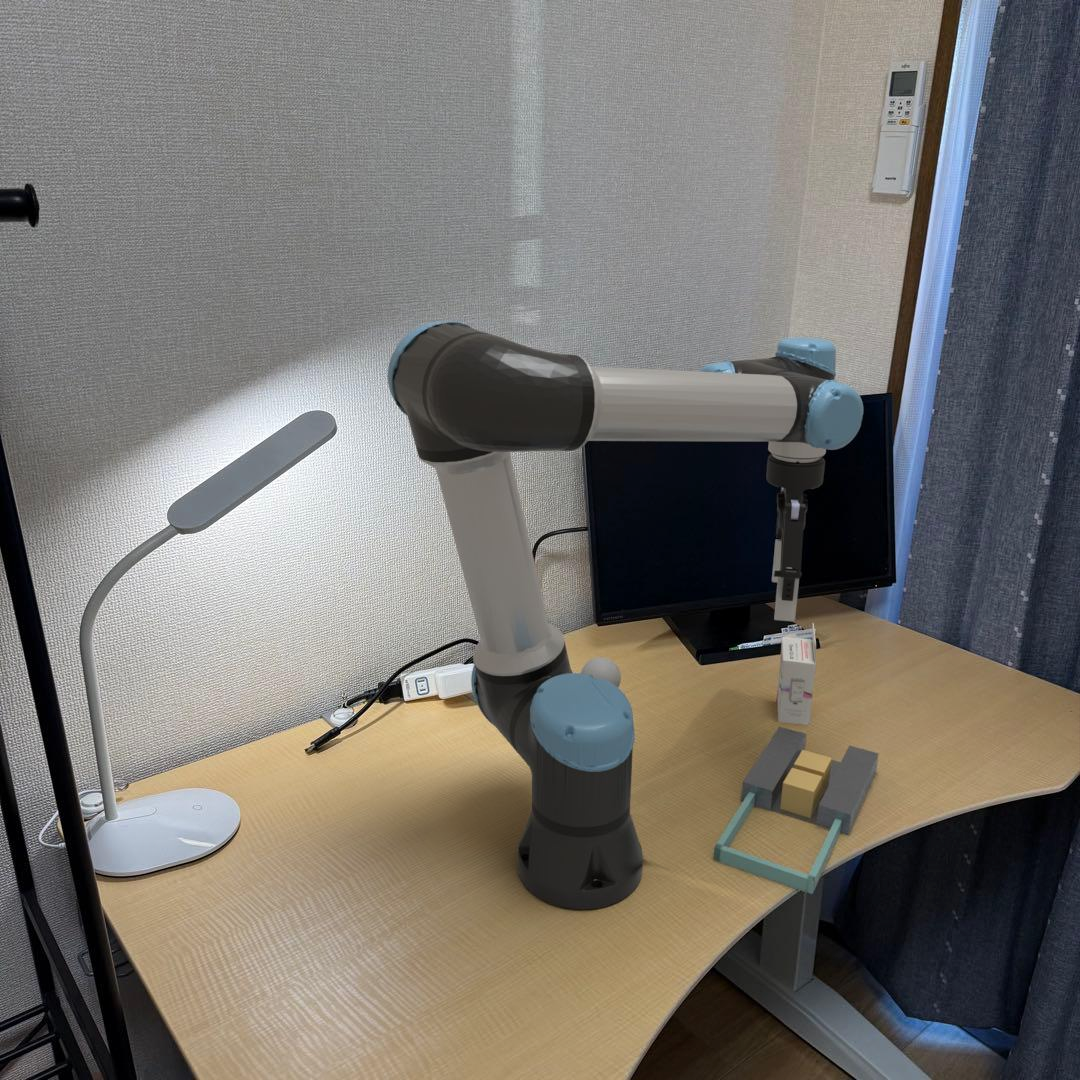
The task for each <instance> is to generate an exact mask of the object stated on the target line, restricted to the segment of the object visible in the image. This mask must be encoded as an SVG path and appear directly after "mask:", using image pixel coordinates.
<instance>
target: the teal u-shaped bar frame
mask: <svg viewBox="0 0 1080 1080" xmlns="http://www.w3.org/2000/svg"><path fill="white" fill-rule="evenodd" d="M754 802H755V794H754V793H751V792H749V793H748V795H747V796H746V798H745V799H744V801H743V802H741V804H740V806H739V807H738V809H737V811H735V814H734V815H733V817H732V818H731V820H730V822H729V823H728V825H727V827H726V828H725V830H724V831H723V832H722V834H721V836H720V837H719V839H718V840H717V842H716V844H715V845H714V847H713V861H715V862H718V863H722V864H725V865H727V866H729V867H733V868H736V869H739V870H741V871H745V872H747V873H750V874H753V875H756V876H759V877H762V878H764V879H767V880H769V881H773V882H776V883H779V884H781V885H784V886H787V887H791V888H793V889H795V890H798V891H801V892H804V893H807V894H810V895H813V893H814V891H815V890H816V887H817V885H818V882H819V880H820V878H821V876H822V875H823V872H824V869H825V867H826V865H827V862H828V860H829V858H830V856H831V855H832V852H833V850H834V847H835V845H836V843H837V841H838V839H839V837H840V835H841V833H840V831H841V823H842V820H839V819H836V818H835V820H834V823H833V825H832V827H831V829H829V831H828V833H827V835H826V837H825V840H824V842H823V844H822V845H821V848H820V850H819V852H818V854H817V857H816V859H815V860H814V863H813V865H812V868H811V870H810V871H809V873H808V874H807V873H805V872H802V871H799V870H796V869H793V868H790V867H787V866H785V865H784V866H783V865H781V864H778V863H776V862H773V861H769V860H768V859H767V860H766V859H763V858H760V857H758V856H754V855H752V854H749V853H746V852H743V851H739V850H738V849H734V848H731V847H730V846H731V844H732V843H733V841H734V839H735V838H736V836H737V834H738V833H739V831H740V829H741V828H742V826H743V825H744V823H745V821H746V820H747V818H748V817H749V815H750V813H752V810H753V808H754V807H755V806H754Z"/></svg>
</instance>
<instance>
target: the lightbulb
mask: <svg viewBox="0 0 1080 1080" xmlns="http://www.w3.org/2000/svg"><path fill="white" fill-rule="evenodd" d="M580 673H582V674H588V675H592V677H593V679H598V678H602V679H605V680H607V681H609V682H611V683H612V684H614V685H615V686H617V687H618V688H619V687H620V685H621V681H622V674H621V671H620V668H619V666H618V665H617V664H616V663H615V661H613V660H612V659H610V658H608V657H604V656H601V657H600V656H598V657H593V658H591V659H589V660H588V661H587V662H586V663H585V664H584V665H583V667H582V669H581V672H580Z"/></svg>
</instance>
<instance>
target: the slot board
mask: <svg viewBox="0 0 1080 1080" xmlns="http://www.w3.org/2000/svg"><path fill="white" fill-rule="evenodd" d="M807 736H808V734H807V733H804V732H801V731H798V730H793V729H790V728H786V727H782V726H778V727H777V729H776V731H775V732H774V733H773V735H772V737H771V738H770V739H769V741H768V742H767V744H766V746H765V747H764V749H763V751H762V752H761V753H760V755H759V757H758V758H757V759H756V760H755V763H754V764H753V765H752V767H751V769H750V770H749V772H748V773H747V774H746V776H745V777H744V779H743V781H742V786H741V795H740V802H741V803H743V801H744V799H745V798H746V796H747V795H748V793H749V792H751V793H754V794H755V802H754V807H756V808H760V809H763V810H766V811H769V812H772V813H777V814H780V815H783V816H784V817H785V816H786V817H788V818H792V819H795V820H799V821H802V822H806V823H808V824H810V825H811V824H812V825H814V826H817V827H820V828H824V829H828V830H830V829H831V827H832V825H833V823H834V820H835V818H836V819H839V820H842V823H841V831H840V834H843V835H846V836H849V835H850V833H851V831H852V828H853V826H854V824H855V821H856V819H857V816H858V815H859V812H860V810H861V807H862V805H863V803H864V801H865V798H866V796H867V795H868V792H869V789H870V788H871V784H872V783H873V780H874V778H875V775H876V773H877V769H878V763H879V762H878V761H879V755H880V754H879V753H878V752H874V751H871V750H868V749H864V748H859V747H856V746H853V745H848V747H847V750H846V752H845V753H844V755H843V757H842V759H841V761H838V760H835V759H832V762H831V770H830V778H829V784H828V786H827V788H826V790H825V792H824V794H823V796H822V797H821V798H820V799H819V803H818V805H817V807H816V809H815V811H814V813H813V815H812V817H811V818H808V817H805V816H802V815H799V814H795V813H792V812H789V811H786V810H783V809H780V807H781V798H782V788H783V782H784V780H785V779H786V777H787V775H788V774H789V772H790V770H791V768H794V763H795V762H796V760H797V758H798V757H799V755H800V753H801V751H802V750H805V751H806V743H807V742H806V741H807Z"/></svg>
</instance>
